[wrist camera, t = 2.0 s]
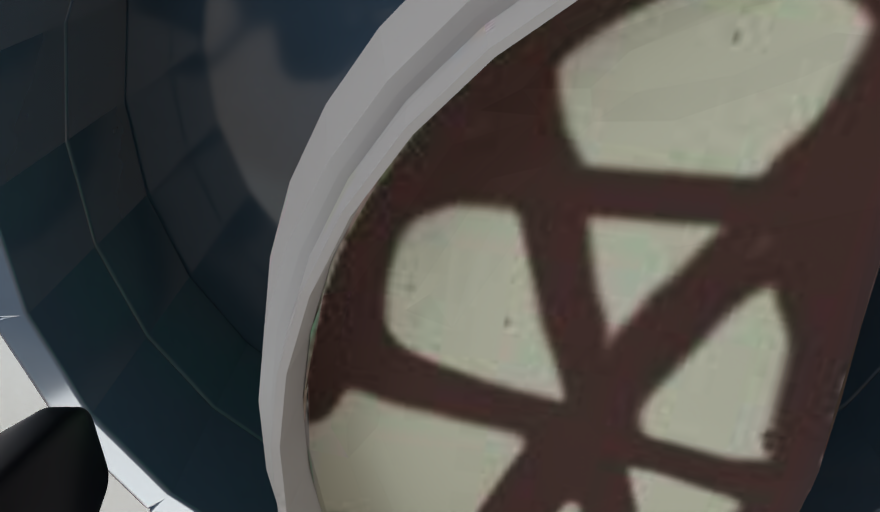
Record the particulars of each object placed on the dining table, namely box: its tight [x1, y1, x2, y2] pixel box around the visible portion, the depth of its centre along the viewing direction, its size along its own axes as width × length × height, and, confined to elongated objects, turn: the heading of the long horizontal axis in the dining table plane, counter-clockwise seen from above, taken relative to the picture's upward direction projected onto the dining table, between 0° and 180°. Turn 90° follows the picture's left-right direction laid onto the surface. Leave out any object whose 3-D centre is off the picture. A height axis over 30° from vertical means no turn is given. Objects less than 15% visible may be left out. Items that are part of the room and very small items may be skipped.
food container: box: [259, 0, 880, 512], centre depth 12 cm, size 12×6×10 cm, turn 175°
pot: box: [0, 0, 880, 512], centre depth 14 cm, size 17×17×6 cm
